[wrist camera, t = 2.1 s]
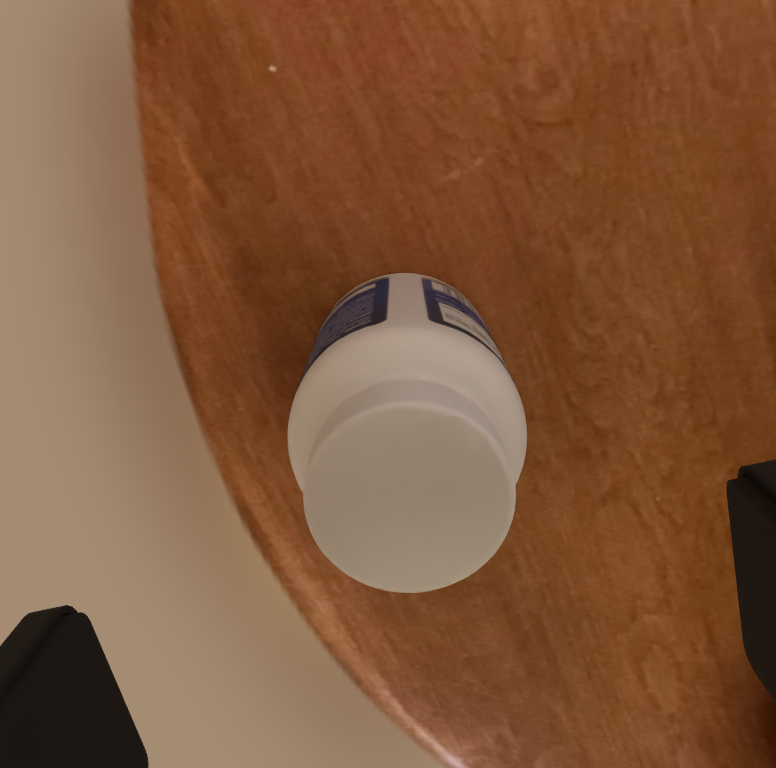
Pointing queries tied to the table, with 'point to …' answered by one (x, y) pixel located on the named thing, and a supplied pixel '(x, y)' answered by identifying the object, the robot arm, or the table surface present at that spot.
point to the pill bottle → (407, 436)
